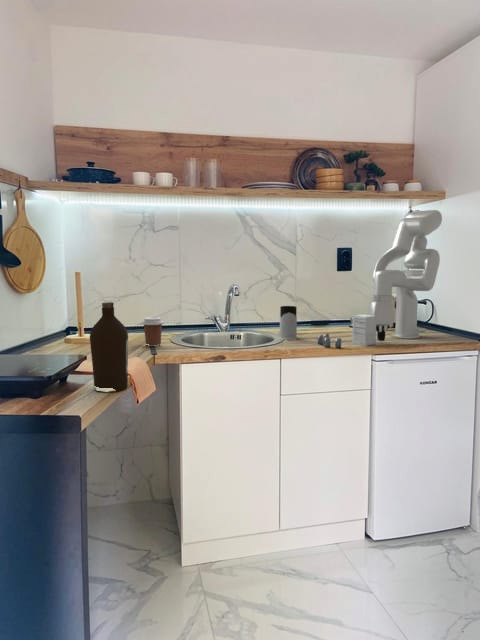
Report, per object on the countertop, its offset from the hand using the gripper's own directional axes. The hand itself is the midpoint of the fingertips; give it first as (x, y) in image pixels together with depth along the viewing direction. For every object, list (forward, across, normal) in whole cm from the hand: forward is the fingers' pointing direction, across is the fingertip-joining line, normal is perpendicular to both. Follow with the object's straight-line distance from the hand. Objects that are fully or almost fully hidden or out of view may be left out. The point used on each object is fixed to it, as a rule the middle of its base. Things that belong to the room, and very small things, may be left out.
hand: (381, 340), depth 206 cm
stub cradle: (+1, +25, 0) cm, 25 cm away
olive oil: (+2, +113, +46) cm, 123 cm away
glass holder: (+2, +35, -24) cm, 43 cm away
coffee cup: (+2, +98, -20) cm, 100 cm away
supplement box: (+2, +8, 0) cm, 8 cm away
